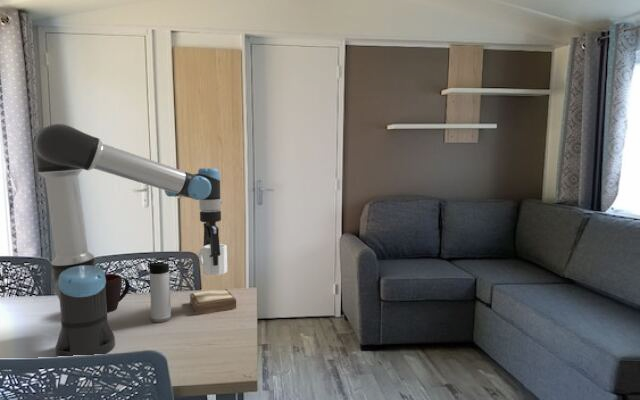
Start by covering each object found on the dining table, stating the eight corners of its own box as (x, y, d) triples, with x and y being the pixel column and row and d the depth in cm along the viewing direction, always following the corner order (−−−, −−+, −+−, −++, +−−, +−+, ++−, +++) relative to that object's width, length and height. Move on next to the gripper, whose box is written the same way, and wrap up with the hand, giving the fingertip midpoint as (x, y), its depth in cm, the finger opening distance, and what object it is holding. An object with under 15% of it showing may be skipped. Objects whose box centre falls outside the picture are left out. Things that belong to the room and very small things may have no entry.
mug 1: (85, 311, 157) (83, 279, 156) (121, 300, 169) (119, 270, 167) (101, 317, 152) (99, 283, 150) (136, 305, 163) (135, 274, 162)
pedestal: (236, 308, 160) (236, 298, 160) (197, 314, 154) (196, 303, 154) (226, 297, 173) (226, 287, 172) (190, 302, 167) (190, 292, 166)
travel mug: (146, 321, 148) (144, 263, 146) (161, 314, 154) (159, 259, 152) (159, 324, 145) (157, 265, 143) (174, 317, 151) (172, 261, 149)
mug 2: (231, 271, 164) (231, 245, 163) (215, 276, 156) (215, 249, 155) (207, 267, 170) (207, 242, 168) (191, 272, 162) (190, 246, 161)
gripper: (228, 213, 151) (229, 276, 154) (213, 206, 171) (215, 262, 174) (206, 214, 148) (208, 279, 150) (194, 207, 168) (196, 264, 170)
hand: (212, 270), depth 162 cm, fingers closed on mug 2, 9 cm apart
